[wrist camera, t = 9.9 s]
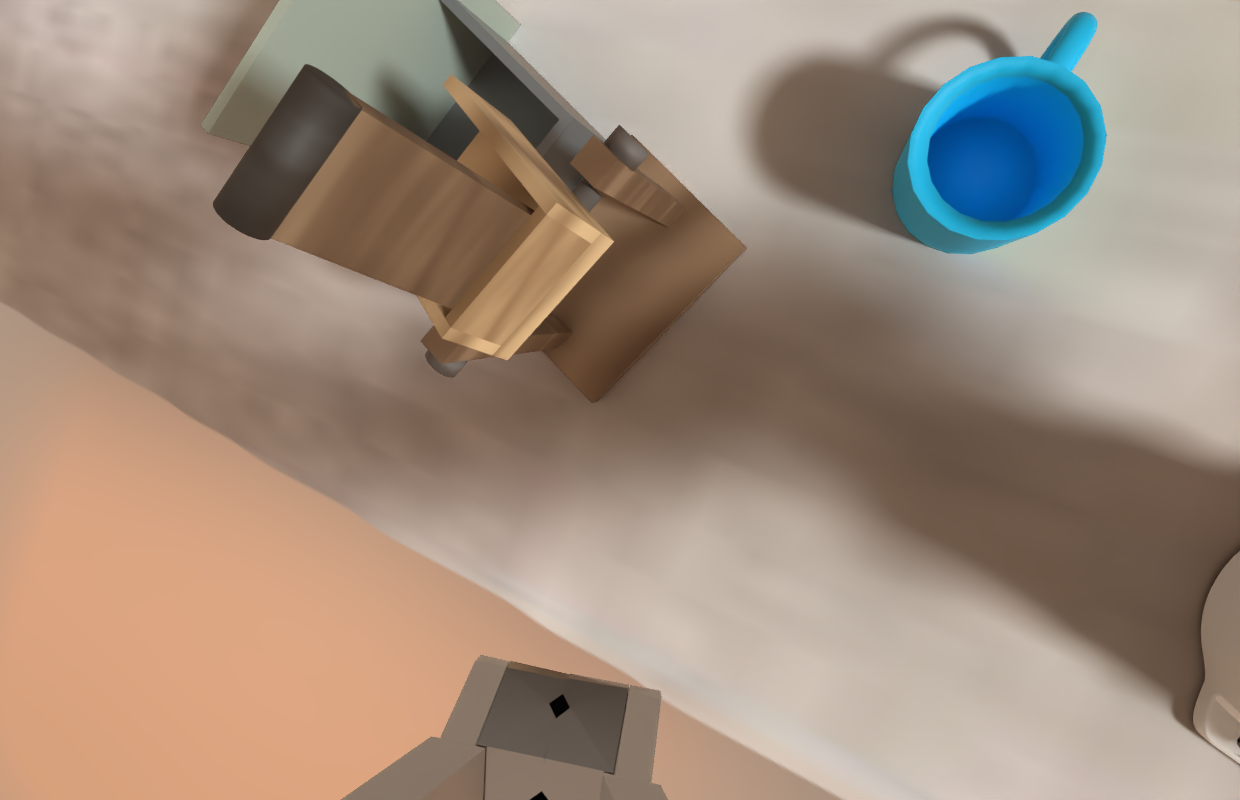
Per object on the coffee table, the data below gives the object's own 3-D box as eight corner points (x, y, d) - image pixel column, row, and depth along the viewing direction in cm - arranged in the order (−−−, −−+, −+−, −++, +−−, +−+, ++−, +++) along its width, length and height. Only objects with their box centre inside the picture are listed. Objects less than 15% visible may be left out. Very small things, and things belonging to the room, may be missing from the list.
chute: (639, 239, 30) (355, 33, 18) (515, 376, 33) (191, 275, 21) (535, 120, 35) (255, -105, 23) (433, 248, 38) (132, 104, 25)
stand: (747, 246, 43) (705, 211, 28) (596, 402, 47) (488, 444, 32) (637, 137, 45) (540, 47, 29) (499, 298, 49) (350, 292, 33)
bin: (631, 133, 45) (530, 41, 29) (495, 292, 49) (344, 283, 33) (514, 18, 46) (360, -128, 31) (391, 182, 50) (200, 125, 35)
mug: (989, 280, 40) (1029, 273, 32) (863, 211, 41) (872, 187, 34) (1130, 82, 37) (1212, 21, 29) (989, 14, 38) (1031, -61, 31)
